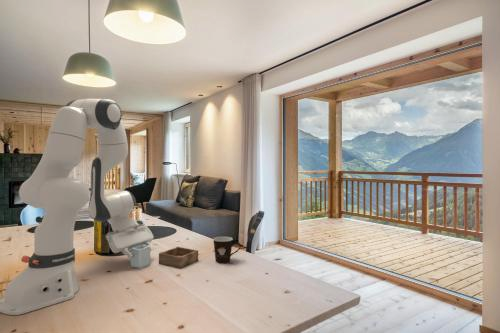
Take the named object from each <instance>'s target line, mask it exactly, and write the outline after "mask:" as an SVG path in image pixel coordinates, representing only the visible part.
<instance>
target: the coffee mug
mask: <svg viewBox="0 0 500 333" xmlns="http://www.w3.org/2000/svg"><path fill="white" fill-rule="evenodd" d="M235 244H237V245H239V247H238V248H237V250H235V251H233V252H232V248H233V246H234V245H235ZM213 247H214V256H215V257H214V258H215V262H216V264H217V263H218V264H222V263H223V264H228V263H230V262H231V257H232V256H233V255H234V254H236V253H238V252H239V251H240V250H241V247H242V244H241V243H240V242H238V241H234V242H233V238H232V236H231V237H230V236H216V237H214V238H213Z"/></svg>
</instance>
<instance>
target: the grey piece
mask: <svg viewBox="0 0 500 333" xmlns="http://www.w3.org/2000/svg"><path fill="white" fill-rule="evenodd" d="M150 248H151V245H150V246H146V245H139V246H136V247H133V248H131V249H130V252H131V253H133V254H134V257H133V258H131V259H130V268H133V269H137V270H141V269H143V268H147V267H148V266H151V251H150Z"/></svg>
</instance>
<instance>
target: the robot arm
mask: <svg viewBox="0 0 500 333" xmlns="http://www.w3.org/2000/svg"><path fill="white" fill-rule="evenodd" d="M122 117H123V116H122V110H121V106H119V104H118V103H117V102H116V101H115V100H112V99H109V98H82V99H74V100H70V101H68V102H67V103H66V104H65V105H64V106H62V107H60V108H59V109H57V111H56V112H55V115H54V117H53V119H52V122H51V124H50V127H49V129H48V135H47V139H46V143H45V146H44V150H43V153H42V157H41V159H40V161H39V162H38V164H37V166H36V167H35V169H34V171H33V172H32V174H31V175H30V176H29V177H28V179H26V180H25V181H24V182H23V183H22V184H21V185H20V187H19V190H18V196H19V198H20V199H21V200H20V201H22V202H23V203H24V204H26V205H28V206H30V207H32V208H34V209H42V210H44V215H43V217H42V220H41V222H40V224H39V225H37V226H36V227H35V229H34V237H33V238H34V239H33V240H34V243H33V245H34V246H33V247H34V248H33V249H34V252H33V253H32V255H31V256H29V255H23V256H22V257H21V258H20V261H21V262H23V263H25V264H27V263H28V264H27V267H25V268H24V269H23V270H22V271H21V272H20V273H19V274H17V275H16V276H15V277H14V278H13V279H12V280H11V281H9V283H7V286H6V287H5V291H4V298H1V299H0V313H2V314H5V315H8V316H11V315H12V316H19V315H23V314H26V313H29V312H33V311H36V310H39V309H43V308H45V307H49V306H53V305H55V304H59V303H62V302H65V301H69V300H71V299H74V297H75V294H76V293H77V292H78V290H79V289H80V287H79V285H78V281H77V276H76V271H75V270H76V269H75V261H76V251H75V250H76V248H75V247H74V238H75V236H74V234H75V226H76V225H75V224H76V220H77V218H78V215H79V213H80V211H82V209H83V208H84V207H86V205H87V204H88V214H89V217H90V218H91V219H92V220H94V221H96V222H99V223H103V222H104V223H105V222H106V221H107V222H108V223H109V224H110V226H111V229H112V231H110V232H107V234H105V239H106V240H107V242H108V246H109V248H110V249H111V252H113V253H114V254H118V253H122V254H123V255H126V256H127V258H128V259H129V260H131V258H133V257H134V254H133V253H131V251H130V250H131V248H133V247H136V246H139V245H146V246H150V252H152V248H151V244H150V243H151V242H153V240H154V234H153V233H152V231H151V230H150V228H149V227H148V226H147V225H146V222H145V221H143V220H139V219H133V218H132V217H131V216H130V214H131V213H132V212H133V211H134V208H136V205H137V200H136V197H135V196H134V194H133V193H132V192H130V191H129V190H120V191H118V192H117V191H116V192H114V193H112V194H107V195H105V179H106V176H107V175H108V173H109V172H110V171H111V170H113V169H114V168H116V167H118V166H119V165H120V164H122V163H124V161H125V160H126V159H127V157H128V155H129V145H128V144H129V143H128V138H127V133H126V129H125V126H124V122H123V121H122ZM88 129H95V131H96V134H97V144H98V151H97V154H96V157H95V158H94V159H93V160H92V162H91V169H90V170H91V172H90V187H89V186H88V184H87V183H85V182H84V181H81V180H79V179H77V178H73V177H68V176H69V175H70V173H71V172H72V170H73V169H75V167H77V166H79V164H80V163H81V160H82V156H83V151H84V147H85V141H86V136H87V130H88ZM88 202H89V203H88Z"/></svg>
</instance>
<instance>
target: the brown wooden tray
mask: <svg viewBox="0 0 500 333" xmlns="http://www.w3.org/2000/svg"><path fill="white" fill-rule="evenodd" d="M198 261H199V249H198V250H197V249H191V248H186V247H181V246H176V247H173V248H170V249H167V250H164V251H162V252H159V253H158V264H159V265H163V266H167V267H172V268H176V269H183V268H184V267H186V266H189V265H191V264H193V263H195V262H198Z"/></svg>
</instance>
